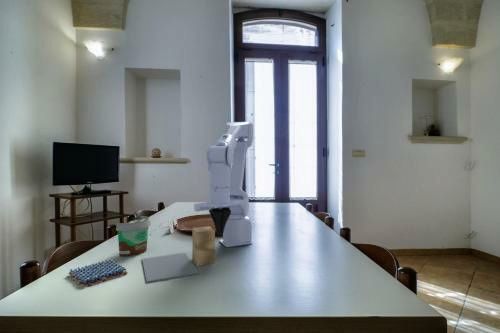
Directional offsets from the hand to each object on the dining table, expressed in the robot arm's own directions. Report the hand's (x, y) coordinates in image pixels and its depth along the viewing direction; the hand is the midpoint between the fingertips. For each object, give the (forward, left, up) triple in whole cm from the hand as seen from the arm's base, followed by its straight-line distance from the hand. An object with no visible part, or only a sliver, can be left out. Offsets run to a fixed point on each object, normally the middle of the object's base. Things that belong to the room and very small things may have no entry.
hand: (219, 234), depth 76 cm
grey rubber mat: (+14, 0, -7) cm, 16 cm away
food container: (+21, -16, -7) cm, 27 cm away
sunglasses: (+10, -41, -8) cm, 43 cm away
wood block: (+5, 0, -7) cm, 8 cm away
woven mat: (+31, -2, -8) cm, 32 cm away
